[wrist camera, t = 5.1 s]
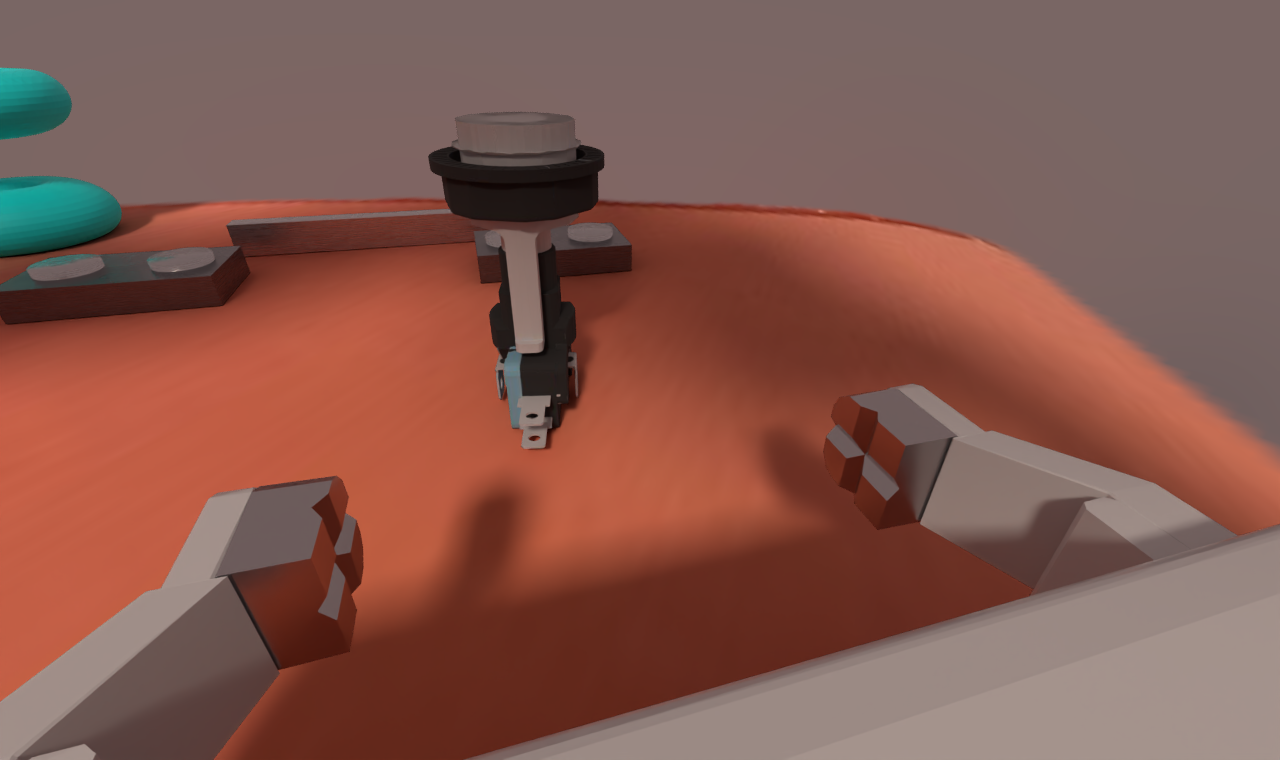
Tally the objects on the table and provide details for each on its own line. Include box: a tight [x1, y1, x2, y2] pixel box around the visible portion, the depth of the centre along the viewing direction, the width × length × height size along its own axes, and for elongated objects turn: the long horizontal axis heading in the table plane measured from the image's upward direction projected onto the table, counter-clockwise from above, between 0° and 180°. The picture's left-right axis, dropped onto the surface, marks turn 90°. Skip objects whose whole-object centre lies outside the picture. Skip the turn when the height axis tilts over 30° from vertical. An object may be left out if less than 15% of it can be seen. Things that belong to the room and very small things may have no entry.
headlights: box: [0, 209, 632, 324], centre depth 34 cm, size 31×9×2 cm, turn 106°
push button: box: [428, 112, 604, 449], centre depth 19 cm, size 7×5×10 cm
